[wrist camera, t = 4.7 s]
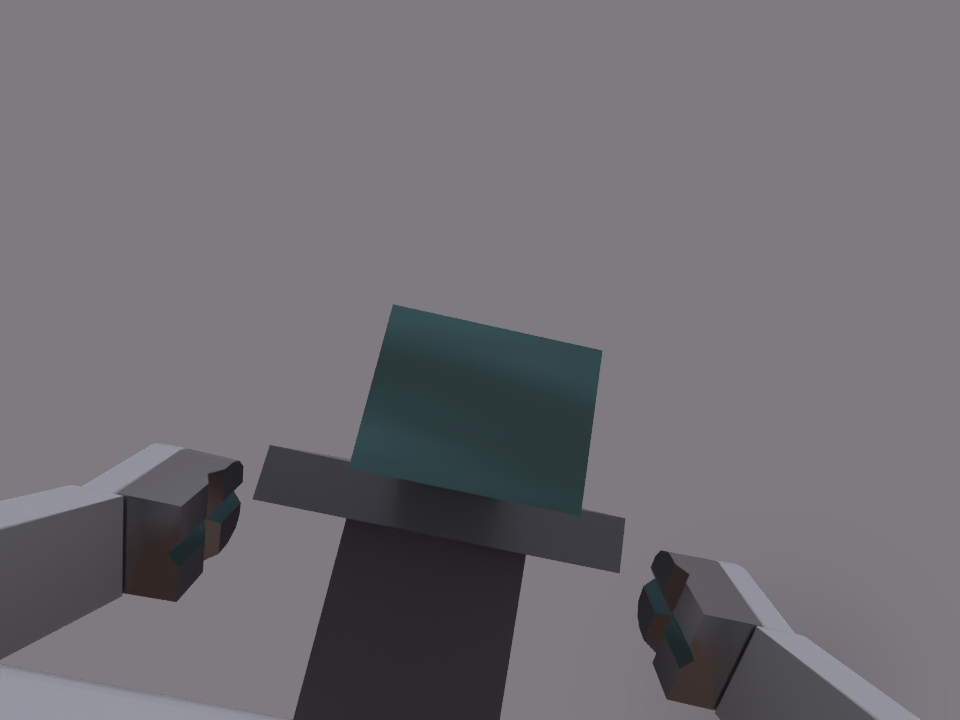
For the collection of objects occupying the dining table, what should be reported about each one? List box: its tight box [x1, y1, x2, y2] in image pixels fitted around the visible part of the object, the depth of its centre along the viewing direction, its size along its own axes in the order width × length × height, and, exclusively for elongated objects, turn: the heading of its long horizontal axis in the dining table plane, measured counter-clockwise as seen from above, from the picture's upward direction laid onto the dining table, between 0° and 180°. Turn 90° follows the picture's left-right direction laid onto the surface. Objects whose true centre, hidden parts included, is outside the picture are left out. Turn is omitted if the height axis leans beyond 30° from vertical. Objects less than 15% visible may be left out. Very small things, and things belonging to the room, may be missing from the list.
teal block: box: [349, 305, 602, 516], centre depth 21 cm, size 28×4×3 cm, turn 5°
